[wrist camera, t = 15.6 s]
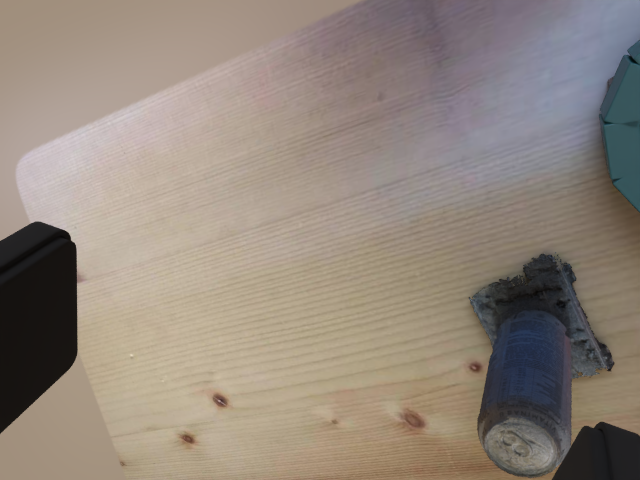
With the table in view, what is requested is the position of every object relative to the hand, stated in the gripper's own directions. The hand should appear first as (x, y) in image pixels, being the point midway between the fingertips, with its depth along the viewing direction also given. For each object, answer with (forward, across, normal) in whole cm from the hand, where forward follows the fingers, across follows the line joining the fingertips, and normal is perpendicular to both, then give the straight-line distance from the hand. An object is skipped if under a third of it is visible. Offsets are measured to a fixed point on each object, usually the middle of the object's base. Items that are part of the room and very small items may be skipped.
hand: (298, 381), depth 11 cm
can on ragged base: (+27, -10, +14) cm, 32 cm away
